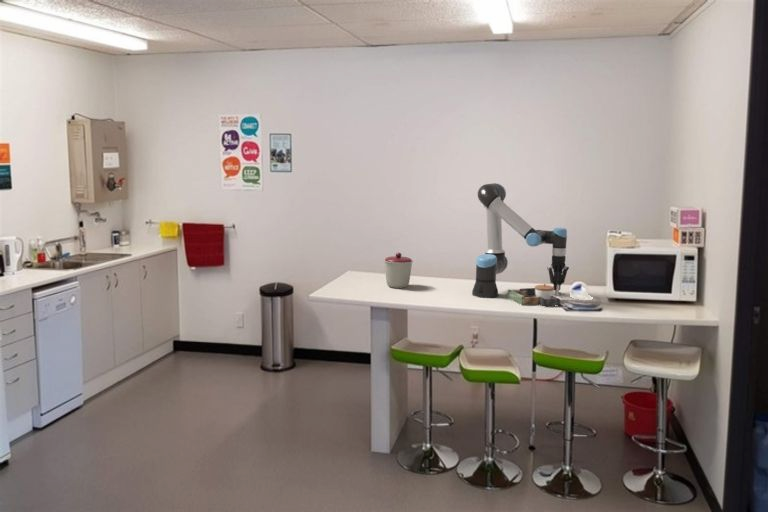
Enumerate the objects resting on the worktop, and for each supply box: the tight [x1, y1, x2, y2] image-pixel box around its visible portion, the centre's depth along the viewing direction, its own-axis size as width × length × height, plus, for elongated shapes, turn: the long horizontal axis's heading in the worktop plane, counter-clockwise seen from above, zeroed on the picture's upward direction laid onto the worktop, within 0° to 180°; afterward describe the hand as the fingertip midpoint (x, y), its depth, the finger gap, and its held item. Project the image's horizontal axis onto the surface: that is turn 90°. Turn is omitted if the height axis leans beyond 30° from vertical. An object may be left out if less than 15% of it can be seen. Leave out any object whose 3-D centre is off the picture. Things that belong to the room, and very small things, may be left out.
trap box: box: [507, 287, 561, 307], centre depth 382 cm, size 20×29×5 cm
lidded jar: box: [534, 283, 554, 299], centre depth 384 cm, size 11×11×9 cm
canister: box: [383, 252, 414, 289], centre depth 412 cm, size 18×18×21 cm
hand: (556, 295), depth 386 cm, fingers closed
